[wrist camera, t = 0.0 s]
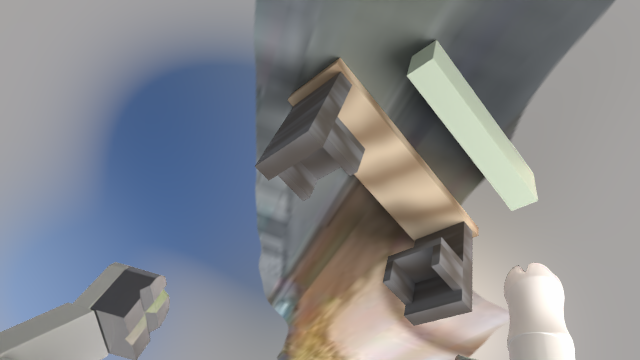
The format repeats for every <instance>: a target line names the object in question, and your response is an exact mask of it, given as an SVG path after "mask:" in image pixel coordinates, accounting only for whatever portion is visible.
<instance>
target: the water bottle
mask: <svg viewBox="0 0 640 360" xmlns="http://www.w3.org/2000/svg"><path fill="white" fill-rule="evenodd" d="M504 296H505V298H506V301H507V304H508V308H509V315H510V328H509V335H508V339H507V345H508V350H509V356H510V360H575V356H574V354H575V349H574V344H573V340H572V338H571V336H570V335H569V333H568V330H567V328H566V325H565V321H564V313H563V307H564V292H563V287H562V284H561V282H560V280H559V278H558V277H557V276H556V275H555V274H553V273H552V272H551V271H550V270H549V269H548V268H547V267H546V266H544V265H542V264H540V263H530V264H529V265H528V268H527V270H526V272H524V270H523V269H522V268H521V267H520V266H519V265H518V266H515V267H514V268H512V269H511V270H510V272H509V273H508V275H507V277H506V280H505V286H504Z"/></svg>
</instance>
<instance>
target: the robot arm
mask: <svg viewBox="0 0 640 360" xmlns="http://www.w3.org/2000/svg"><path fill="white" fill-rule="evenodd" d="M166 285H167V283H166V279H165V276H161V275H158V274H155V273H151V272H148V271H145V270H141V269H138V268H134V267H131V266H128V265H124V264H120V263H116V262H115V263H113V264H111V265H109V266H108V267H107V268H106V269H105V270H104V272H103V273H102V274H101V275H100V276H99V277H98V278H97V279H96V280H95V281H94V282H93V283H92V284H91V285H90V286H89V287H88V288H87V289H86V290H85V291H84V292H83V293H82V294H81V295H80V296H79V298H77V300H76V301H75V302H74V303H73V304H71V303H66V304H64V305H62V306H59V307H57V308H55V309H52V310H50V311H48V312H45V313H43V314H41V315H39V316H36V317H34V318H32V319H29V320H27V321H25V322H23V323H21V324H18V325H16V326H14V327H11V328H9V329H7V330H4V331H2V332H0V360H101V359H103V358H104V357H106V356H107V355H108V353H110V354H114V355H117V356H121V357H125V358H128V359H132V360H137V359H138V357H139V356H140V354H141V353H142V352H143V350H144V349H145V347H146V346H147V345H148V343H149V342H150V332H152V331H154V330H156V329H158V328H159V327H160V326H161V324H162V323H163V321H164V320H165V318H166V315H167V313H168V310H169V304H170V300H169V295H168V294H167V293H166V292H165V291H164V288H165V287H166ZM455 360H476V359H472V358H468V357H464V356H460V355H457V356H456V358H455Z"/></svg>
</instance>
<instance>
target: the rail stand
mask: <svg viewBox="0 0 640 360" xmlns="http://www.w3.org/2000/svg"><path fill="white" fill-rule="evenodd" d="M288 101H289V102H290V104H291V105H292V106H293V108H292V110H291V111H290V113H289V114H288V116H287V117H286V119H285V121H284V122H283V124H282V125H281V127H280V128H279V130H278V131H277V133H276V134H275V136H274V138H273V139H272V141H271V142H270V144H269V145H268V147H267V148H266V150H265V151H264V153H263V155H262V156H261V158H260V159H259V161H258V162H257V164H256V165H255V167H256V168H257V169H258V170H259V171H260V172H261V173H262V174H263V175H264V176H265V177H266V178H267V179H268V180H270V179H272V178H274V177H275V176H277V175H278V176H279V177H280V178H281V179H282V180H283V181H284V182H285V183H286V184H287V185H288V186H289V187H290V188H291V189H292V190H293V191H294V192H295V193H296V194H297V195H298V196H299V197H300V198H301V199H302V200H303V201H304V200H306V199H308V198H310V196H311V194H312V192H313V189H314V187H315V185H316V183H317V180H319V179H320V178H322V177H324V176H326V175H328V174H329V173H331V172H333V171H335V170H336V169H338V168H340V167H342V168H343V170H344V171H345V172H346V173H347V174H348V175H349V176H351V175H353V174H354V175H355V176H356V177H357V178H358V179H359V180H360V181H361V182H362V184H363V185H364V186H365V187H366V188H367V189H368V190H369V191H370V192H371V194H372V195H373V196H374V197H375V198H376V199H377V200H378V201H379V202H380V204H381V205H382V206H383V207H384V208H385V209H386V210H387V211H388V212H389V214H390V215H391V216H392V217H393V218H394V219H395V220H396V221H397V222H398V224H399V225H400V226H401V227H402V228H403V229H404V230H405V231H406V232H407V234H408V235H409V236H410V237H411V238H412V239H413V240H414V241H415V244H414V247H413V248H410V249H408V250H405V251H402V252H400V253H397V254H394V255H391V256H389V257H388V260H387V265H386V270H385V275H384V279H383V283H384V284H385V285H386V286H387V287H388V288H389V289H390V290H391V291H392V292H393V293H394V294H395V295H396V296H397V297H398V298H399V299H400V300H401V301H402V302H403V303H404V304H405V305H406V306H405V313H404V316H405V317H406V318H407V319H408V320H409V321H410V322H411V323H412V324H413V325H414V326H415V325H419V324H423V323H427V322H431V321H435V320H439V319H443V318H448V317H452V316H456V315H460V314H464V313H468V312H472V238H473V237H476V236H478V227H477V225H476V224H475V223H474V222H473V221H472V219H471V218H470V217H469V216H468V214H467V213H466V212H465V211H464V210H463V208H462V207H461V206H460V205H459V203H458V202H457V201H456V200H455V198H454V197H453V196H452V195H451V193H450V192H449V191H448V190H447V189H446V187H445V186H444V185H443V184H442V182H441V181H440V180H439V179H438V177H437V176H436V175H435V174H434V173H433V171H432V170H431V169H430V168H429V166H428V165H427V164H426V163H425V161H424V160H423V159H422V158H421V157H420V155H419V154H418V153H417V152H416V150H415V149H414V148H413V147H412V145H411V144H410V143H409V142H408V141H407V139H406V138H405V137H404V136H403V134H402V133H401V132H400V131H399V129H398V128H397V127H396V126H395V125H394V123H393V122H392V121H391V120H390V118H389V117H388V116H387V115H386V113H385V112H384V111H383V110H382V109H381V107H380V106H379V105H378V104H377V102H376V101H375V100H374V99H373V97H372V96H371V95H370V94H369V93H368V91H367V90H366V89H365V88H364V86H363V85H362V84H361V83H360V81H359V80H358V79H357V78H356V77H355V75H354V74H353V73H352V72H351V70H350V69H349V68H348V67H347V65H346V64H345V63H344V62H343V61H342V59H341V58H339V59H337V60H336V61H335V62H333V63H332V64H331V65H329V66H328V67H327V68H325V69H324V70H323V71H321V72H320V73H319V74H317V75H316V76H315V77H314V78H312V79H311V80H310V81H308V82H307V83H306V84H304V85H303V86H302V87H300V88H299V89H298V90H296V91H295V92H294V93H292V94H291V96H290V97H289V98H288Z"/></svg>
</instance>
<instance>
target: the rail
mask: <svg viewBox="0 0 640 360" xmlns="http://www.w3.org/2000/svg"><path fill="white" fill-rule="evenodd" d="M407 77H408V78H409V79H410V81H411V82H412V83H413V84H414V86H415V87H416V88H417V90H418V91H419V92H420V94H421V95H422V96H423V97H424V99H425V100H426V101H427V103H428V104H429V105H430V106H431V108H432V109H433V110H434V112H435V113H436V114H437V115H438V117H439V118H440V119H441V121H442V122H443V123H444V124H445V126H446V127H447V128H448V130H449V131H450V132H451V133H452V135H453V136H454V137H455V139H456V140H457V141H458V142H459V144H460V145H461V146H462V148H463V149H464V150H465V152H466V153H467V154H468V155H469V157H470V158H471V159H472V161H473V162H474V163H475V164H476V166H477V167H478V168H479V170H480V171H481V172H482V173H483V175H484V176H485V177H486V179H487V180H488V181H489V182H490V184H491V185H492V186H493V188H494V189H495V190H496V191H497V193H498V194H499V195H500V196H501V198H502V199H503V200H504V202H505V203H506V204H507V206H508V207H509V208H510V209H511V210H512V211H513V210H515V209H518V208H520V207H523V206H526V205H528V204H531V203H534V202H536V201H538V197H537V192H536V186H535V179H534V174H533V172H532V171H531V169H530V168H529V166H528V165H527V164H526V162H525V161H524V160H523V158H522V157H521V155H520V154H519V153H518V151H517V150H516V148H515V147H514V146H513V144H512V143H511V142H510V141H509V140H508V138H507V137H506V136H505V134H504V133H503V131H502V130H501V129H500V127H499V126H498V125H497V123H496V122H495V120H494V119H493V118H492V116H491V115H490V113H489V112H488V111H487V109H486V108H485V106H484V105H483V104H482V102H481V101H480V100H479V98H478V97H477V95H476V94H475V93H474V91H473V90H472V88H471V87H470V86H469V84H468V83H467V82H466V80H465V79H464V77H463V76H462V75H461V73H460V72H459V70H458V69H457V68H456V66H455V65H454V64H453V62H452V61H451V59H450V58H449V57H448V55H447V54H446V52H445V51H444V50H443V48H442V47H441V46H440V44H439V43H438V41H437V40H435V41H434V42H432V43H431V44H429V45H428V46H427V47H425V48H424V49H422V50H421V51H419V52H418V53H416V54H415V55H413V56H412V58H411V62H410V65H409V69H408V73H407Z"/></svg>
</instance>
